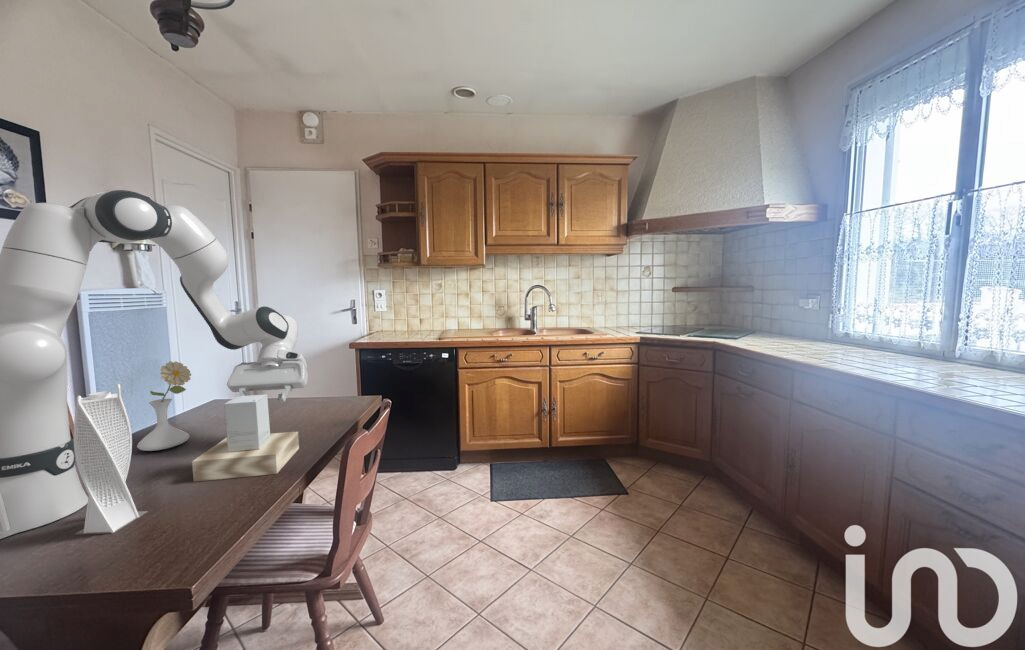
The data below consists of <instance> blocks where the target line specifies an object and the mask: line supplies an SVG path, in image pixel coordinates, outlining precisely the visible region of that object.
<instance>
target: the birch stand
mask: <svg viewBox="0 0 1025 650" xmlns="http://www.w3.org/2000/svg"><path fill="white" fill-rule="evenodd" d="M270 437H271V439H270V440H269V441H268V442H267V443H266V444H264V445H263V446H262V447H261V448H260V449H254V450H242V451H232V452H228V443H227V437H225V438H224V439H222V440H221V441H220V442H218V443H217V444H215V445H214V446H212V447H210V448H209V449H208V450H207V451H204V452H203V453H202V454H201V455H199V456H198V457H196V458H195V459H193V460H192V461H191V465H192V475H193V476H192V477H193V482H204V481H214V480H223V479H224V480H225V479H227V480H228V479H235V478H236V479H237V478H247V477H256V476H257V477H258V476H266V475H267V476H268V475H277V474H279V472H280V471H281V470H282V468H283V467H285V465H286V464H287V463H288V462H289V460H290V459H291V458H292V457H293V456H294V455H295V454H296V453H297V451H298V450H299V449H300V445H299V444H300V442H299V431H289V432H276V433H275V432H272V433H270Z"/></svg>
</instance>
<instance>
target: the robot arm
mask: <svg viewBox="0 0 1025 650" xmlns="http://www.w3.org/2000/svg"><path fill="white" fill-rule="evenodd" d="M146 240H149V241H151V242H153V243H155V244H156V245H158V247H160V248H162V249H163V251H164V252H165V254H166V255H167V256H168V257H169V258H170V259H171V260H172V261H173V262H174V264H175V265H176V267H177V268H178V270H179V273H180V277H179V282H180V285H181V288H182V289H183V291H184V292H185V294H186V296H187V297H188V298H189V300H190V302H191V303H192V304H193V306H194V307H195V309H196V310H197V311H198V313H199V314H200V316H201V317H202V318H203V320H204V321H205V322H206V324H207V326H208V327H209V328H210V330H211V333H212V335H213V337H214V339H215V341H216V342H217V344H219V346H221V347H224V348H225V349H229V350H230V351H231V350H233V351H234V350H235V351H236V350H239V349H241V348H242V349H243V348H244V347H247V346H249V345H252V344H255V343H260V344H261V348H260V350H259V353H258V356H257V360H256V361H253V362H252V361H251V362H241V363H239V364H237V365H235V366H234V368H233V370H232V373H230V376H229V377H228V380H227V382H226V386H227V387H228V389H229V390H230V391H231V392H232V393H239V396H246V395H248V393H249V392H260V391H261V392H263V391H275V390H276V391H279V390H283V392H282V393H278V395H277V401H278V403H280V402H283V403H284V402H286V399H287V397H288V396H289V395H290V394H291V393H292V391H293V389H295V390H296V389H303V388H305V387H306V386H307V385H308V381H309V380H308V379H309V378H308V377H309V372H308V370H307V369H308V364H307V361H306V359H305V357H304V356H303V353H301V352H300V353H299V352H295V351H294V348H295V347H296V344H297V340H298V335H299V325H298V322H297V321H296V319H294V317H292V316H291V315H288V314H281V313H280V312H278V311H277V310H276V309H273V308H272V307H270V306H259V307H257V308H253V309H249V310H246V311H243V312H240V313H237V314H232V313H229V312H228V311H227V310H226V309H225V307H224V305H223V304H222V302H221V301H220V299H219V298H218V297H217V295H216V294H215V291H214V289H213V286H214V283H216V281H217V280H218V279H219V278H221V276H222V275H223V274H225V272H226V271H227V268H228V265H229V255H228V252H227V250H226V249H225V247H224V246H223V244H222V243H221V242H220V241H219V240H218V239H217V238H216V236H215V235H214V233H212V232H211V230H210V229H209V228H208V227H207V226H206V225H205V224H204V223H203V222H202V221H201V220H200V219H199V218H198V217H197V216H196V215H195V214H193V212H191V211H190V210H189V209H188V208H186V207H184V206H182V205H178V204H166V205H162V204H160V203H158V202H156V201H154V200H152V198H149V197H148V196H145V195H143V194H142V193H139V192H136V191H132V190H127V189H126V190H125V189H119V190H118V189H116V190H110V191H101V192H98V193H94V194H92V195H90V196H87V197H85V198H82V199H80V200H79V201H77V202H76V203H75V202H74V204H72V205H71V206H69V207H68V206H66V205H63V204H58V203H53V202H51V203H50V202H36V203H31V204H28V205H26V206H24V208H23V209H22V210H21V211H20V213H19V214H18V215H17V217H16V218H15V220H14V222H13V223H12V225H11V226H10V229H9V231H8V233H7V235H6V237H5V240H4V241H3V245H2V246H1V247H2V248H1V251H0V540H2V539H5V538H7V537H10V536H12V535H15V534H18V533H22V532H26V531H29V530H32V529H36V528H39V527H42V526H44V525H48V524H51V523H53V522H56V521H58V520H61V519H63V518H65V517H68V516H69V515H71V514H73V513H75V512H77V511H79V510H81V509H82V508H83V507H85V506H87V504H88V498H89V495H87V493H86V492H85V490H84V487H83V486H82V482H81V480H80V478H79V475H78V474H79V473H78V472H77V468H76V464H75V463H76V457H75V451H74V438H72V437H71V430H70V420H69V411H68V384H69V383H68V376H69V375H68V351H67V347H66V346H67V345H66V344H65V341H63V339H62V338H61V336H62V333H63V331H64V329H65V326H66V324H67V322H68V319H69V317H70V314H71V313H72V310H73V308H74V307H75V304H76V303H77V300H78V296H79V293H80V290H81V286H82V283H83V280H84V276H85V272H86V269H87V265H88V262H89V258H90V254H91V253H90V252H92V249H93V248H94V246H95V245H96V244H97V243H107V244H108V243H109V244H112V243H115V244H116V243H121V244H123V243H125V244H126V243H134V242H138V241H146Z"/></svg>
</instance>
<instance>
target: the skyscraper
mask: <svg viewBox="0 0 1025 650" xmlns="http://www.w3.org/2000/svg"><path fill="white" fill-rule="evenodd" d="M115 385H116V386H115V387H116V393H115V392H114V393H112V392H111V391H107V390H106V391H105V390H104V391H98V392H92V393H88V396H87V397H82V396H81V395H77V397H76V408H75V416H74V424H73V439H74V451H75V463H76V466H77V469H78V472H79V473H78V474H79V475H80V479H81V481H82V483H83V485H84V488H85V490H86V492H87V494H88V503H87V504H86V506H87V508H86V513H85V519H84V520H85V521H84V527H83V528H82V529H80V530H79V531H76V532H75V533H74V535H93V534H98V535H99V534H101V535H102V534H115V533H116V532H118V531H119V530H121V529H123V528H124V527H125V526H127V525H129V524H131V523H132V522H133V521H135V520H137V519H139V518H140V517H142V516H143V515H145V514H147V513H148V510H144V511H143V510H141V511H138V510H137V507H136V505H135V503H134V500H133V497H132V494H131V492H130V490H129V488H128V486H127V483H126V480H127V478H128V474H129V470H130V464H131V458H132V452H133V451H132V450H133V435H132V428H131V423H130V420H129V416H128V412H127V409H126V406H125V404H124V401H123V397H122V391H121V390H122V388H121V384H120V383H117V384H115Z"/></svg>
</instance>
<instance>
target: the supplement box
mask: <svg viewBox="0 0 1025 650" xmlns="http://www.w3.org/2000/svg"><path fill="white" fill-rule="evenodd" d="M268 398H269V397H268V394H267V393H266V394H253V395H251V394H250V395H245V396H241V395H238V396H236V397H234V398H232V399H230V400H228V401H227V402H224V403H223V407H224V417H225V420H224V421H225V428H226V438H227V443H228V452H232V451H242V450H254V449H260V448H261V447H262V446H263V445H264V444H266V443H267V442H268V441H269V440H270V439H271V437H270V434H271V428H270V427H271V426H270V415H269V414H270V413H269V412H270V411H269V401H268V400H269V399H268Z"/></svg>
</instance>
